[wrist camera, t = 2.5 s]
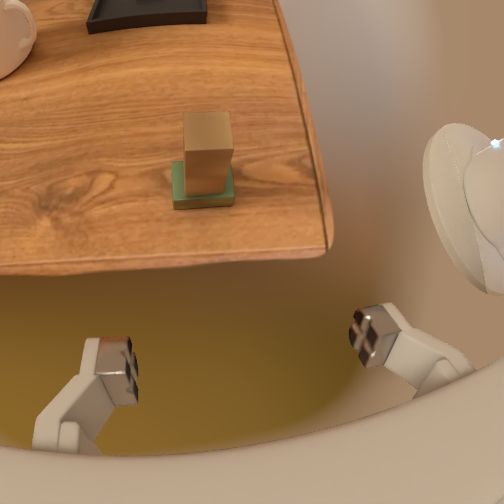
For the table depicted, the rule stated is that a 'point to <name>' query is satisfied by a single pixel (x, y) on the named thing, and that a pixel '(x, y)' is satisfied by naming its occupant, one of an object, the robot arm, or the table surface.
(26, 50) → the mug
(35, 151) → the table surface
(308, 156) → the table surface
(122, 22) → the black tray
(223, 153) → the scrub brush
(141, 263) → the table surface
